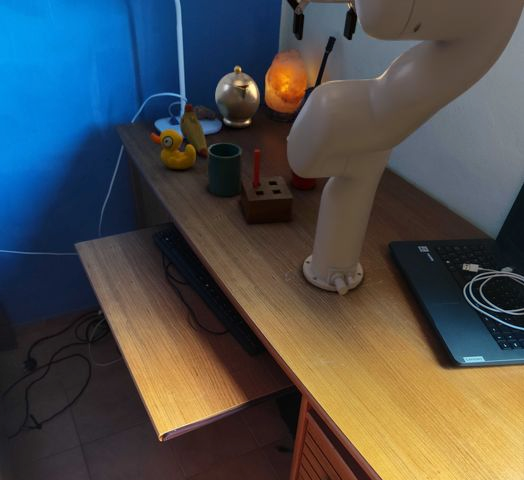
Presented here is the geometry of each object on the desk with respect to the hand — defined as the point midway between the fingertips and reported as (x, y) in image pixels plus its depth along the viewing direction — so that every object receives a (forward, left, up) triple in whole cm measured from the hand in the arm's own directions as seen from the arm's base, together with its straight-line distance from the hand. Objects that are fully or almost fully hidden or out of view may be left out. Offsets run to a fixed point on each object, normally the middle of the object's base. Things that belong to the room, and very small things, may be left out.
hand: (323, 38), depth 87 cm
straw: (+4, +11, -37) cm, 38 cm away
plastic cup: (+14, -4, -37) cm, 40 cm away
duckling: (+27, +28, -37) cm, 53 cm away
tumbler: (+14, +17, -37) cm, 43 cm away
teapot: (+56, +7, -37) cm, 67 cm away
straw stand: (+2, +9, -37) cm, 38 cm away
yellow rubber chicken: (+40, +22, -37) cm, 58 cm away
